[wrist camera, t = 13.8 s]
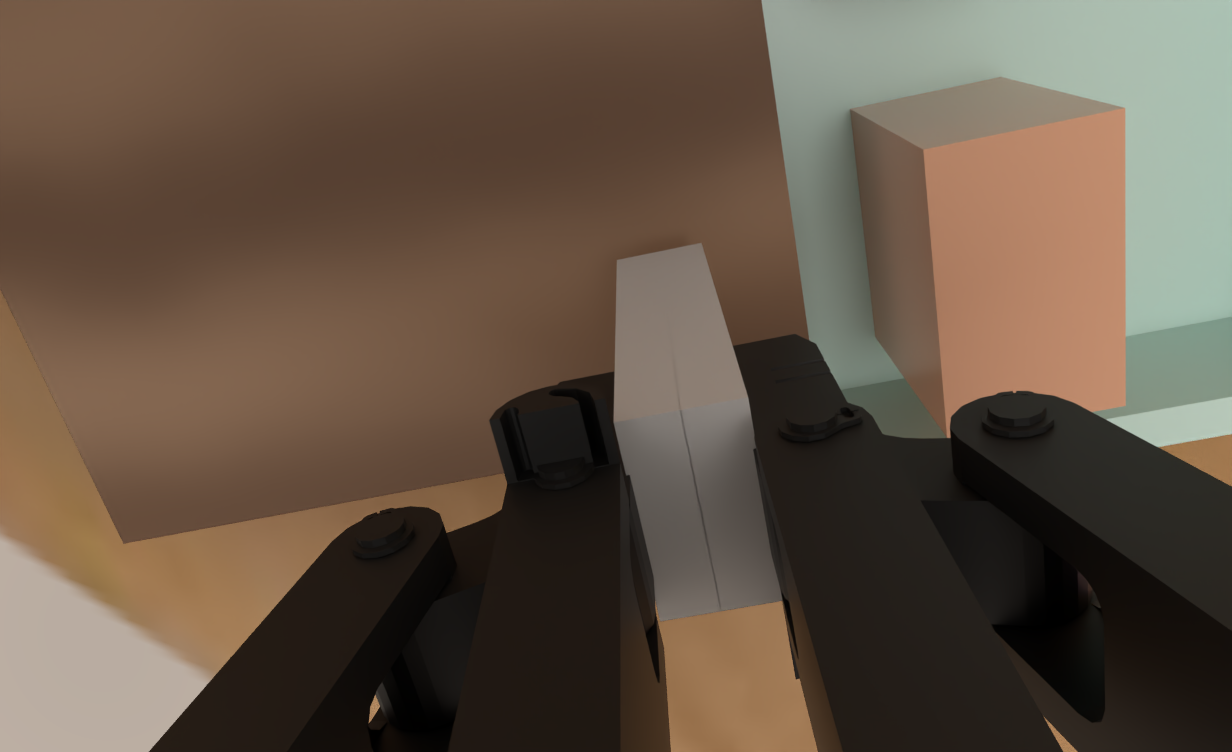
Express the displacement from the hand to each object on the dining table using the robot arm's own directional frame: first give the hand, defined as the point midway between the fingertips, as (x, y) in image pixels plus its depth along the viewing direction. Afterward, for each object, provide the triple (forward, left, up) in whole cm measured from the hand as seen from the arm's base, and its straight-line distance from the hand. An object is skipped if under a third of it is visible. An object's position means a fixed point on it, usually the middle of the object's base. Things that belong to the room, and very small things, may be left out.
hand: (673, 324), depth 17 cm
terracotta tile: (0, +4, -1) cm, 4 cm away
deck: (-4, -5, -4) cm, 8 cm away
